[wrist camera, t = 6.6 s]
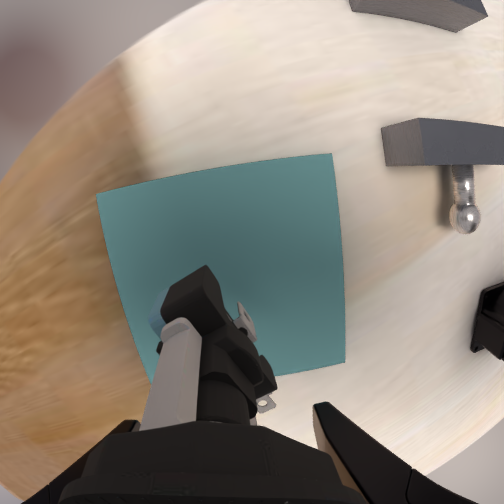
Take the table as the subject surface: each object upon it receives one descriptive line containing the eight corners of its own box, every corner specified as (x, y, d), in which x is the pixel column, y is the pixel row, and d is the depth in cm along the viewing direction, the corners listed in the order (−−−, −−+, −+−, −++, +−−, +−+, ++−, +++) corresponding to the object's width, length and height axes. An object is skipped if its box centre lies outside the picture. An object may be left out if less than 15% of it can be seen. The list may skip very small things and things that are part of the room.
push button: (313, 361, 12) (414, 562, 3) (213, 411, 13) (223, 610, 3) (234, 234, 11) (322, 539, 1) (121, 304, 11) (-7, 530, 1)
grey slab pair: (446, 9, 14) (476, -9, 9) (486, 220, 18) (524, 231, 14) (343, -14, 14) (364, -46, 9) (391, 236, 18) (428, 253, 14)
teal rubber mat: (326, 154, 17) (331, 153, 16) (341, 354, 20) (345, 362, 19) (102, 193, 17) (95, 194, 16) (155, 380, 20) (152, 388, 19)
